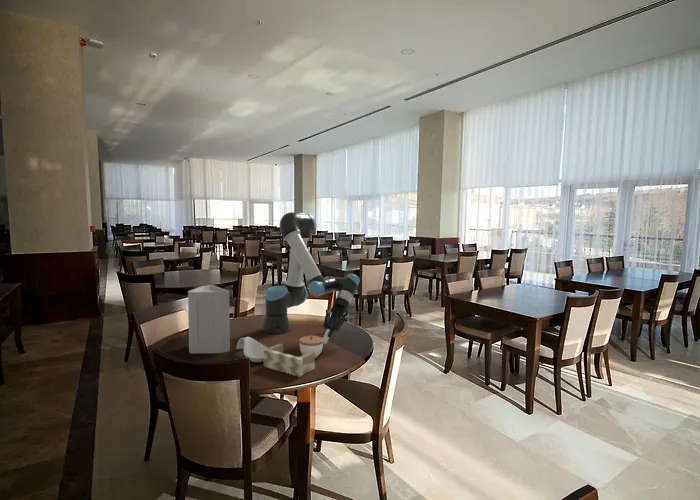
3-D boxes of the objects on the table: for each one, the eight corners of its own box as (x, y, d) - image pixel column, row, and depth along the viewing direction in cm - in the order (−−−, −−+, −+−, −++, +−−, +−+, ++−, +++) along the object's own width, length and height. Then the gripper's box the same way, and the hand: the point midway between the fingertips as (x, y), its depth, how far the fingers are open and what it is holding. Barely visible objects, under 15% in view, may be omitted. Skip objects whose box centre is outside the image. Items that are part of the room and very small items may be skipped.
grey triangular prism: (181, 347, 180) (180, 288, 178) (212, 340, 190) (211, 284, 188) (198, 358, 166) (197, 295, 164) (230, 350, 177) (229, 291, 174)
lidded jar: (324, 352, 177) (325, 332, 176) (320, 361, 167) (321, 340, 166) (302, 351, 178) (302, 331, 177) (296, 359, 168) (296, 339, 167)
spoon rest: (276, 361, 166) (276, 345, 165) (251, 368, 158) (251, 351, 158) (251, 346, 184) (251, 331, 183) (228, 351, 176) (228, 336, 176)
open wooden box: (263, 366, 160) (263, 350, 159) (279, 358, 168) (279, 343, 168) (299, 377, 150) (299, 359, 149) (314, 368, 159) (314, 352, 158)
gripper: (356, 307, 193) (338, 348, 180) (334, 303, 199) (315, 343, 186) (351, 298, 187) (332, 341, 175) (329, 295, 194) (309, 335, 181)
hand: (323, 342), depth 181 cm, fingers closed
